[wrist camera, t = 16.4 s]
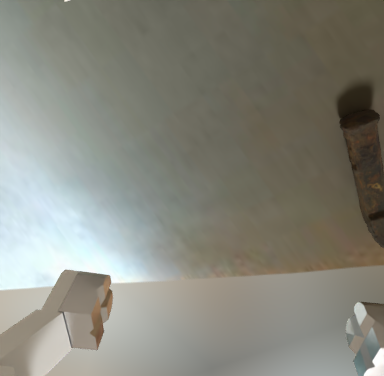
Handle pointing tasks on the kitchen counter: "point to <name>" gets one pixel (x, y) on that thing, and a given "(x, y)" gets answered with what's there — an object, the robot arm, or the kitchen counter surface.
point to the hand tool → (367, 168)
